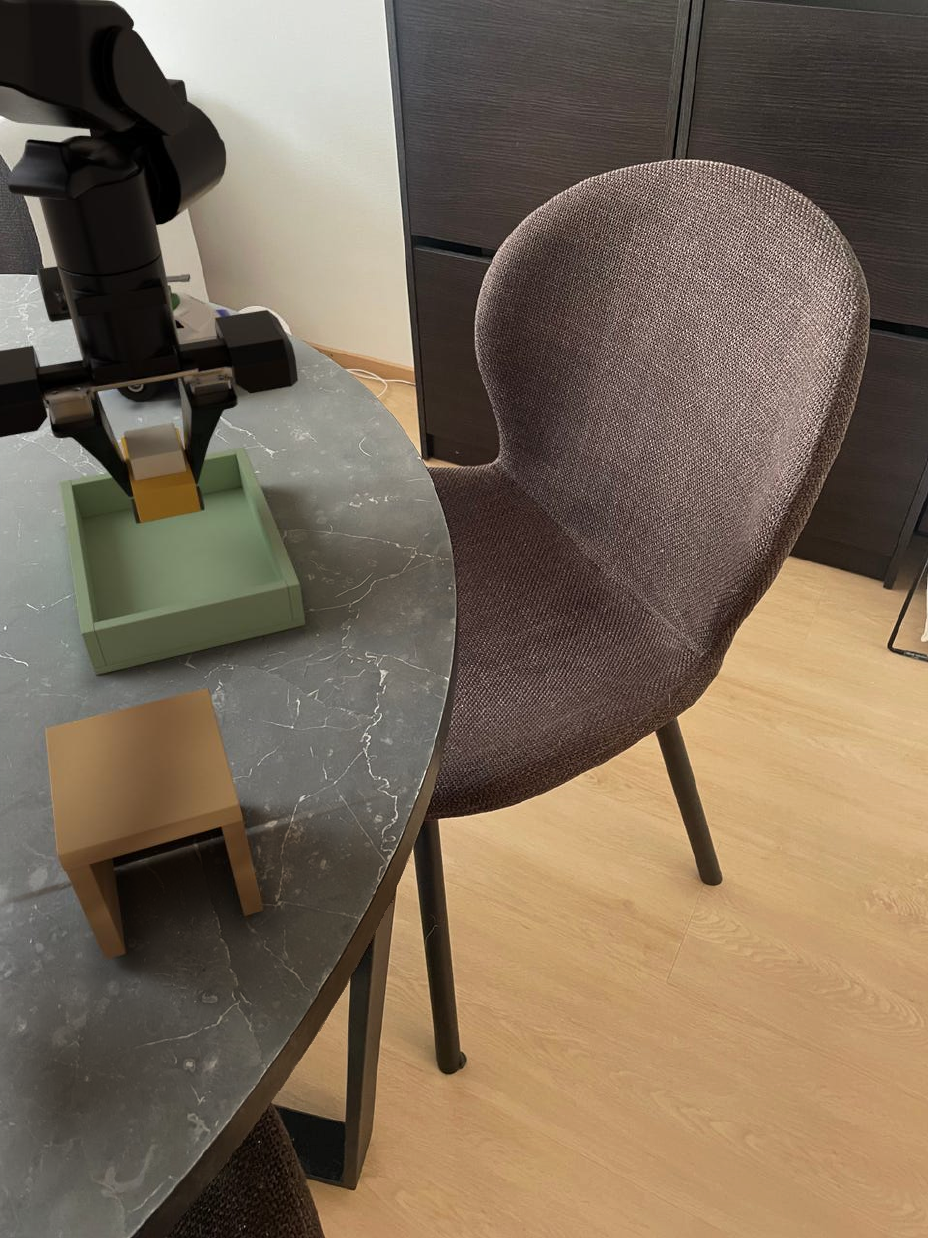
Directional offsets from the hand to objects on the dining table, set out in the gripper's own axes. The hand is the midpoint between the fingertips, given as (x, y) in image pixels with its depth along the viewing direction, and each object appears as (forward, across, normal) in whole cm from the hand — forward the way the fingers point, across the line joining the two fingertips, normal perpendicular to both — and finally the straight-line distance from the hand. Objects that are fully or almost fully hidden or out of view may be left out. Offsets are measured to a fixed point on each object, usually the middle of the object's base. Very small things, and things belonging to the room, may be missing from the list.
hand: (163, 487), depth 67 cm
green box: (+7, 0, 0) cm, 7 cm away
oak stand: (+7, +5, +26) cm, 27 cm away
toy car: (+7, -4, -29) cm, 30 cm away
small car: (+1, 0, 0) cm, 1 cm away
